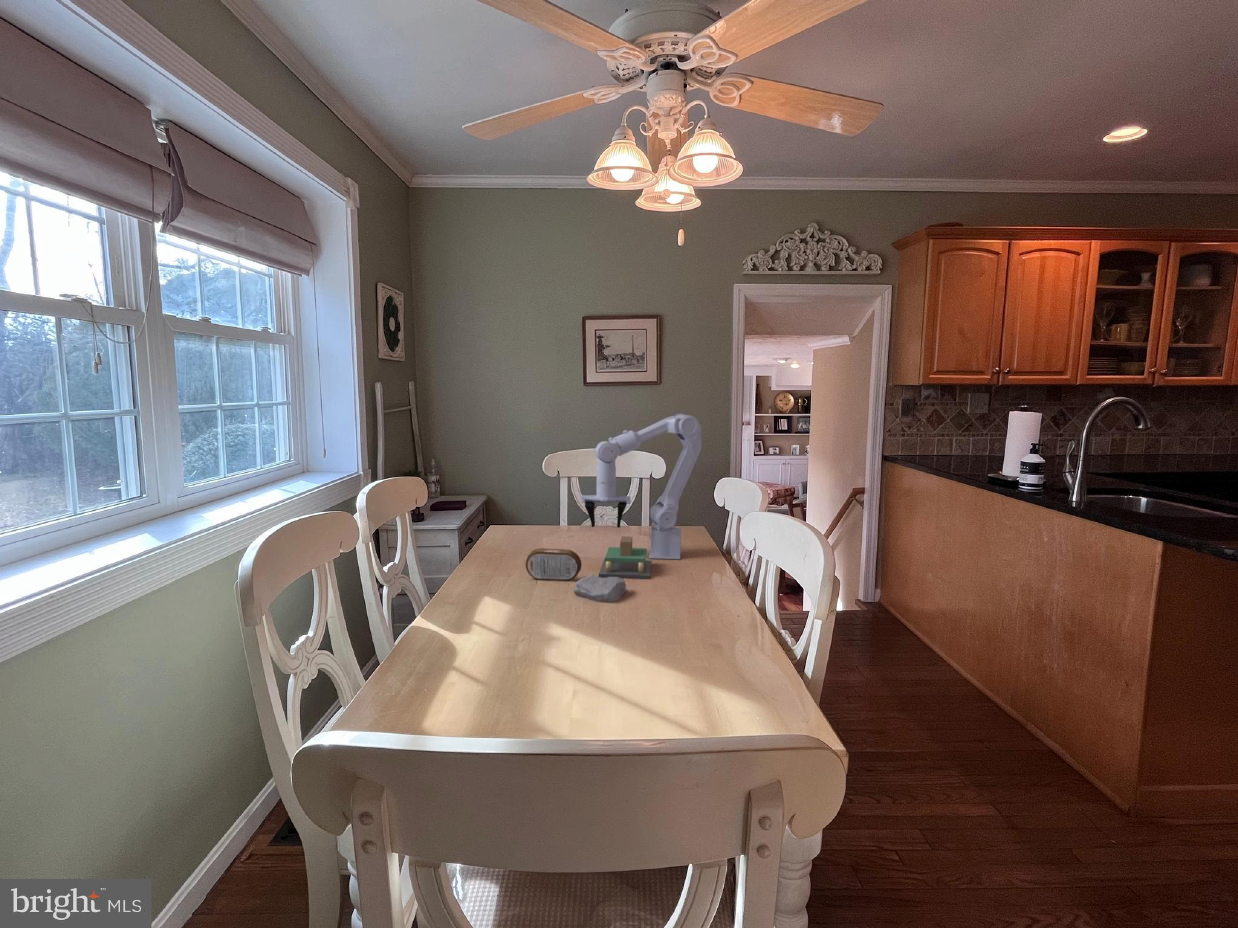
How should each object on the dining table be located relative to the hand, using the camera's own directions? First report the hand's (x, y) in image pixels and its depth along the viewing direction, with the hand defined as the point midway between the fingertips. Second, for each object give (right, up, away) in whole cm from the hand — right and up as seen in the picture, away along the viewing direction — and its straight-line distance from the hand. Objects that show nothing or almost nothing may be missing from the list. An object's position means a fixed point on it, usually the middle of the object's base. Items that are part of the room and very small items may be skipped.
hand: (605, 526), depth 184 cm
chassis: (+6, -11, -10) cm, 16 cm away
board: (+6, -7, -10) cm, 14 cm away
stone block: (-1, -15, -30) cm, 33 cm away
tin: (-14, -13, -18) cm, 26 cm away
